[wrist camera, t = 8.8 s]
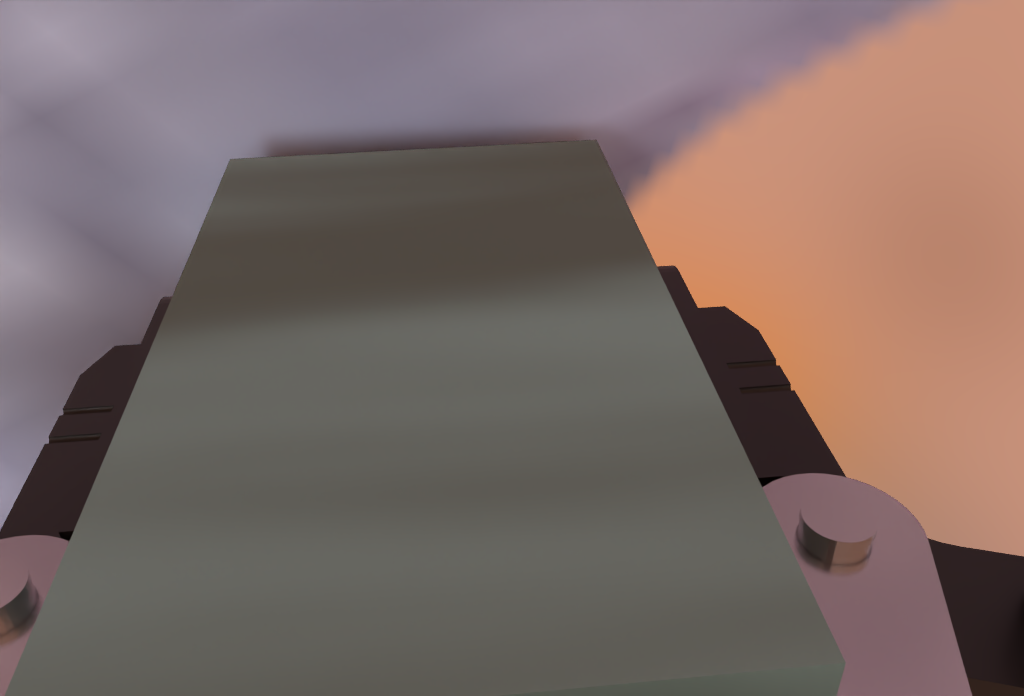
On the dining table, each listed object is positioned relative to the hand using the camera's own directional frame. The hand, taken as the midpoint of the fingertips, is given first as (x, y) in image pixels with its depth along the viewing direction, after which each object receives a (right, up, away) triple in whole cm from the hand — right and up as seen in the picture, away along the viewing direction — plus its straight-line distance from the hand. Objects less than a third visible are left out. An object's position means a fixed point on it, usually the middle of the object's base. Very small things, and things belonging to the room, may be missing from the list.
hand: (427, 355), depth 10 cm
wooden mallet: (0, -7, +6) cm, 9 cm away
